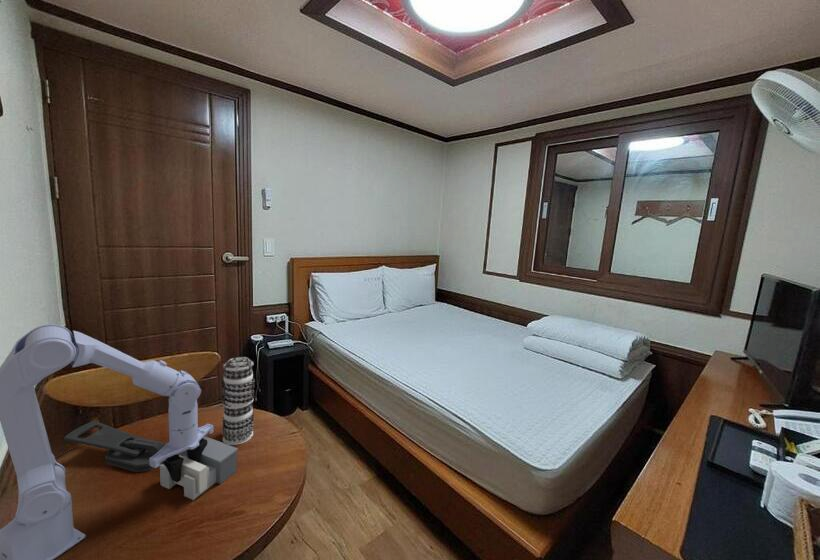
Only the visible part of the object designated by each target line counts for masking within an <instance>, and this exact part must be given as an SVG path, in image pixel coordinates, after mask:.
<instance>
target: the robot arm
mask: <svg viewBox="0 0 820 560" xmlns="http://www.w3.org/2000/svg"><path fill="white" fill-rule="evenodd" d="M72 332H73V333H72ZM72 332H71V330H69V329H68V328H67V327H65V326H63V325H60V324H53V323H52V324H51V323H49V324H48V323H47V324H42V325H40V326H38V327H35V328H33V329H32V330H30V331H29V332H27V333H25V334H24V335H23V336H22V337H21V338H19V339H18V340H16V341H15V343H14V345H13V347H12V349H11V351H10V352H9V353H8V355H7V356H6V358H5V360H4V361H3V362H2V364H1V365H0V424H1V429H2V432H3V435H4V438H5V442H6V445H7V448H8V452H9V454H10V457H11V461H12V464H13V467H14V468H13V469H14V471H15V474H16V481H17V489H18V491H17V492H18V498H17V499H18V500H17V509H16V512H15V515H14V518H13V519H12V520H11V521H9V523H7V524H6V525H4V526H2V528H0V560H55V559H56V558H58V557H59V556H61V555H63V553H64V552H65V553H66V551H69V549H71V548H72V547H74V546H75V545H76V544H78V543H80V541H82V540H83V539H85V538H86V534H85V533H83V532H81V531H80V530H79V529H76V528H75V527H74V516H73V515H74V514H73V505H72V504H73V503H72V494H71V492H69V491H68V490H67V485H66V473H67V471H66V468H65V467H64V465H63V464H61V463H59V462H58V461H57V460H56V457H55V455H54V454H53V452H52V449H51V444H50V442H49V438H48V434H47V431H46V427H45V423H44V419H43V415H42V411H41V409H40V404H39V401H38V398H37V394H36V389H35V387H36V386H37V385H38V384H39V383H40V382H41V381H42V380H43V379H45V378H46V377H49V376H50V375H52V374H54V373H56V372H58V371H60V370H62V369H63V368H65V367H67V366H68V365H70V364H71V368H77V367H81V366H85V365H89V364H95V365H98V366H100V367H102V368H106V369H109V370H112V371H115V372H116V373H121V374H123V375H126V376H129V377H131V379H132V384H133V385H134V386H135V387H136V386H137V387H139V388H141V389H144V390H147V391H149V392H151V393H155V394H157V395H160V396H161V397H168V412H167V413H168V439H169V440H168V442H166V445H165V446H164V447H163V448H162V449H160V450H159V451H158V452H157V453H156V454H155V455H153V456H152V457H150V458H149V463H150V466H151V467H154V468H153V469H157V468H159V467H160V465H161V464H160V463H161V462H162V464H164V465H165V466H166V468H167V469H168V471H169V473H170V476H171V479H172V480H173V481H175V482H179V481H180V480H181V468H182V463H183V460H184V458H182V457H179V455H180V452H183V451H185V450H187V455H188V459H191V460H193V461H196V462H198V463H199V460H200V457H201V455H202V452H203V450H204V449H205V447H206V446H207V440H206V439H204V436H207V435H210V434H212V433H214V425H213V424H210V423H205V424H204V425H203V426H199V424H198V419H199V416H198V415H199V414H198V411H199V410H198V408H199V407H198V398H199V397H200V395H201V393H202V389H201V387H200V385H199V383H198V381H196V380H195V378H194V377H193V376H192V375H191V374H190V373H188V372H187V371H184V370H181V369H180V370H176V369H174V368H172V367H170V366H167V365H168V363H167V362H166V361H164V360H162V359H160V360H158V361H157V360H155V359H151V360H147V361H140V360H139V359H137V358H134V357H133V356H131V355H128V354H127V353H124V352H122V351H120V350H119V349H116V348H115V347H112V346H110V345H108V344H106V343H104V342H102V341H100V340H99V339H96V338H93V337H91V336H89V335H87V334H84V333H82V332H81V331H76V330H72ZM178 454H179V455H178Z"/></svg>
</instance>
